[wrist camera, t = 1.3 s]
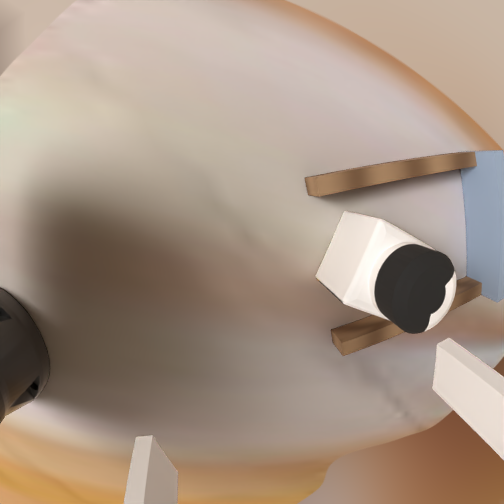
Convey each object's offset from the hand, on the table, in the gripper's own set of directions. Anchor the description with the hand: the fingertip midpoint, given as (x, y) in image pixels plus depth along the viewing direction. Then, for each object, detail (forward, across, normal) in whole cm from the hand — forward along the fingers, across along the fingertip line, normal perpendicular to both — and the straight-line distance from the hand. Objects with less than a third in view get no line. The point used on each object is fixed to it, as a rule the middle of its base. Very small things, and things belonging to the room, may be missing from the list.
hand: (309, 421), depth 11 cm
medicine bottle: (+18, +11, 0) cm, 21 cm away
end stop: (+18, +28, -1) cm, 33 cm away
